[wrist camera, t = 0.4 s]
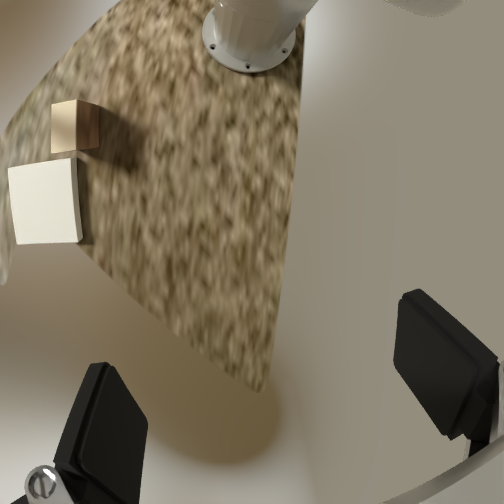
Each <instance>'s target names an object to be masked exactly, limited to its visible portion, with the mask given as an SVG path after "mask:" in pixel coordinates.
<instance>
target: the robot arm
mask: <svg viewBox="0 0 504 504" xmlns="http://www.w3.org/2000/svg"><path fill="white" fill-rule="evenodd" d="M317 1H318V0H215V7H214V8H212V9H211V11H210V12H209V13H208V15H207V16H206V18H205V21H204V23H203V28H202V36H203V42H204V45H205V47H206V50H207V51H208V53H209V54H210V56H211V57H212V58H213V59H214V60H215V61H216V62H218V63H219V64H221V65H222V66H224V67H226V68H229V69H231V70H234V71H238V72H244V73H257V72H262V71H267V70H269V69H271V68H274V67H276V66H277V65H279V64H280V63H282V62H283V61H284V60H285V59H286V58H287V57H288V55H289V54H290V53H291V51H292V49H293V47H294V44H295V39H296V31H295V28H296V27H297V26H298V24H299V23H300V22H301V21H302V19H303V18H304V17H305V16H306V15H307V13H308V12H309V11H310V10H311V8H312V7H313V6H314V5H315V4H316V2H317ZM384 1H386V2H389V3H392V4H393V5H396V6H398V7H400V8H402V9H405V10H407V11H409V12H412V13H415V14H418V15H422V16H427V17H439V16H443V15H446V14H448V13H450V12H452V11H454V10H455V9H457V8H458V7H459V6H460V5H462V4H463V2H465V0H384ZM212 47H214V48H215V49H214V50H212V49H211V48H212ZM282 51H284V52H285V54H284V53H282ZM246 66H249V67H250V68H249V69H247V68H246ZM497 359H498V357H497V356H496V355H495V354H494V353H493V352H492V351H490V349H488V348H487V347H486V346H485V345H484V344H483V343H482V342H481V341H480V340H479V339H478V338H476V337H475V336H474V335H473V334H472V333H471V332H470V331H469V330H468V329H467V328H466V327H464V326H463V325H462V324H461V323H460V322H459V321H458V320H457V319H455V318H454V317H453V316H452V315H451V314H450V313H449V312H447V311H446V310H445V309H444V308H443V307H441V306H440V305H439V304H438V303H437V302H436V301H434V300H433V299H432V298H431V297H430V296H429V295H427V294H426V293H425V292H424V291H422V290H421V289H415V290H413V291H410V292H407V293H404V294H403V296H402V299H400V301H399V304H398V318H397V330H396V340H395V350H394V359H393V361H394V366H395V368H396V370H397V371H398V373H399V374H400V375H401V377H402V378H403V380H404V381H405V382H406V384H407V385H408V387H409V388H410V389H411V391H412V392H413V394H414V395H415V396H416V398H417V399H418V401H419V402H420V404H421V405H422V407H423V408H424V409H425V411H426V412H427V414H428V415H429V417H430V418H431V420H432V421H433V423H434V424H435V425H436V427H437V428H438V430H439V431H440V433H441V434H442V435H447V436H448V438H449V439H450V440H453V439H455V438H456V437H458V436H460V435H461V434H464V435H465V436H466V438H467V441H466V448H465V454H464V459H463V462H462V463H460V464H458V465H456V466H455V467H453V468H451V469H450V470H448V471H446V472H444V473H442V474H441V475H439V476H437V477H436V478H434V479H432V480H430V481H428V482H426V483H424V484H422V485H420V486H418V487H416V488H414V489H412V490H410V491H408V492H406V493H403V494H401V495H399V496H397V497H395V498H392V499H390V500H388V501H385V502H383V503H380V504H504V360H503V361H502V362H501V364H499V362H497ZM147 430H148V422H147V419H146V417H145V415H144V414H143V412H142V411H141V409H140V408H139V406H138V404H137V403H136V401H135V400H134V398H133V397H132V395H131V394H130V392H129V390H128V389H127V387H126V385H125V384H124V382H123V380H122V379H121V377H120V375H119V374H118V372H117V370H116V369H115V367H114V366H110V364H109V363H107V362H102V363H93V364H90V366H89V368H88V370H87V372H86V374H85V377H84V379H83V382H82V384H81V386H80V389H79V391H78V394H77V396H76V399H75V401H74V404H73V407H72V409H71V412H70V414H69V417H68V419H67V422H66V425H65V428H64V430H63V433H62V436H61V439H60V442H59V445H58V448H57V451H56V454H55V457H54V460H53V462H54V463H55V468H53V467H51V466H47V465H43V466H39V467H36V468H35V469H33V470H32V471H31V472H30V473H29V474H28V476H27V478H26V481H25V493H26V494H25V495H24V496H22V497H20V498H19V499H17V500H16V501H14V502H13V503H11V504H139V498H140V487H141V477H142V468H143V460H144V452H145V444H146V437H147Z"/></svg>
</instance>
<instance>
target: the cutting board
mask: <svg viewBox="0 0 504 504" xmlns="http://www.w3.org/2000/svg"><path fill="white" fill-rule="evenodd" d="M8 177H9V189H10V199H11V208H12V215H13V222H14V229H15V235H16V240H17V244H39V243H71V242H79V241H80V240H81V239H82V238H83V234H82V226H81V217H80V207H79V196H78V182H77V162H76V157H74V158H67V159H59V160H52V161H46V162H39V163H33V164H28V165H22V166H17V167H12V168H8Z"/></svg>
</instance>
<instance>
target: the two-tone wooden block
mask: <svg viewBox="0 0 504 504" xmlns="http://www.w3.org/2000/svg"><path fill="white" fill-rule="evenodd" d="M99 116H100V106H99V105H95V104H91V103H87V102H84V101H80V100H72V101H67V102H62V103H57V104H52V112H51V153H59V152H66V151H75V150H83V149H91V148H99Z"/></svg>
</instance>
